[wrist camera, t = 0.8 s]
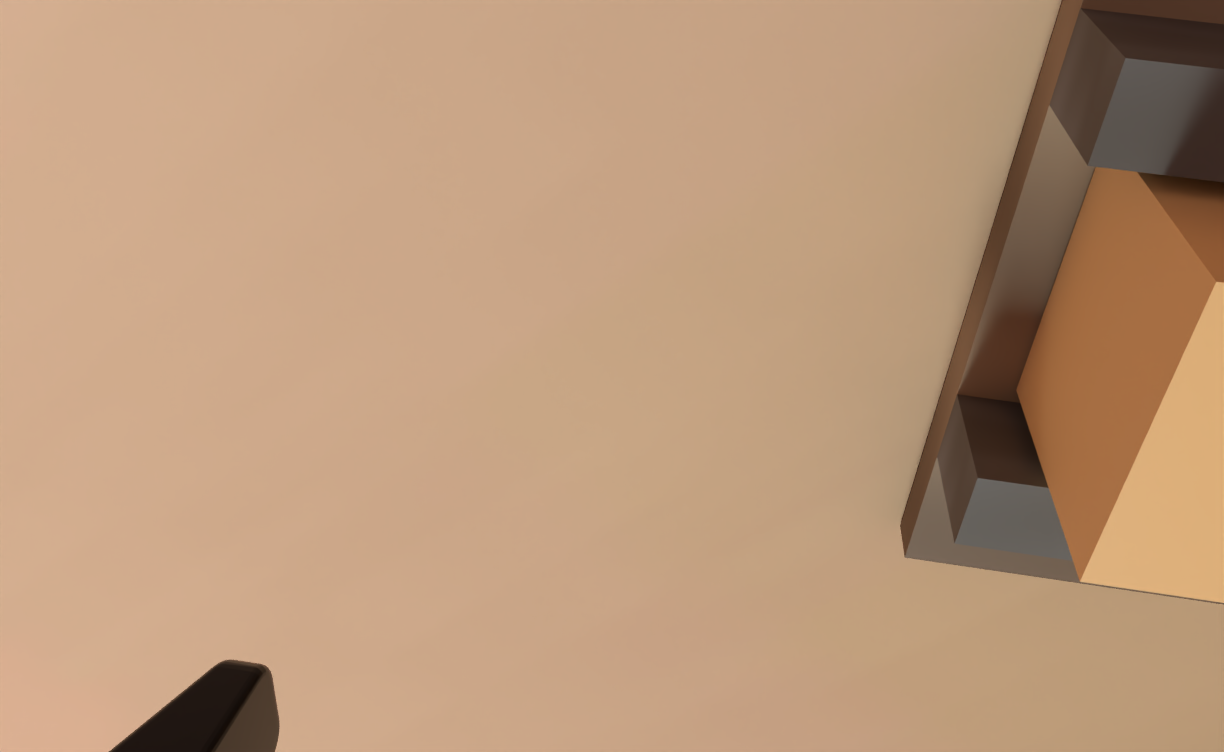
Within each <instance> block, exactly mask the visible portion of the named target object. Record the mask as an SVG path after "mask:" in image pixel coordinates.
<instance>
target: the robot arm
mask: <svg viewBox="0 0 1224 752" xmlns="http://www.w3.org/2000/svg"><path fill="white" fill-rule="evenodd" d="M278 736H279V716H278V710H277V703H276V697H275V691H274V685H273V678H272V674H271V671H270V670H269V669H268V667H267V666H265V665H263V664H257V663H251V662H244V661H238V660H225V661H222V662H220V663H218V664H217V665H215V666H214V667H213V668H211V669H210V670H209V671H208V672H206V673H205V674H204V675H203V676H202V677H200V678H199V679H198V680H197V681H195V682H194V683H193V684H192V685H190V686H189V687H188V688H187V689H186V690H184V691H183V692H182V693H181V694H179V695H178V696H177V697H176V698H174V699H173V700H172V701H171V702H170V703H168V704H167V705H166V706H165V707H163V708H162V709H161V710H160V711H158V712H157V713H156V714H155V715H154V716H152V717H151V718H150V719H149V720H147V721H146V722H145V723H144V724H142V725H141V726H140V727H139V728H138V729H136V730H135V731H134V732H133V733H131V734H130V735H129V736H128V737H127V738H125V739H124V740H123V741H122V742H120V743H119V744H118V745H117V746H115V747H114V748H113V749H112V750H111V751H109V752H275V749H276V746H277V741H278Z"/></svg>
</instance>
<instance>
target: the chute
mask: <svg viewBox="0 0 1224 752" xmlns="http://www.w3.org/2000/svg"><path fill="white" fill-rule="evenodd" d="M1096 167H1101V168H1109V169H1118V170H1126V171H1134V172H1142V173H1150V174H1159V175H1167V176H1175V177H1183V178H1191V179H1200V180H1208V181H1216V182H1224V0H1063V1H1062V4H1061V7H1060V11H1059V14H1058V17H1057V20H1056V24H1055V27H1054V30H1053V33H1052V36H1051V40H1050V43H1049V46H1048V49H1047V53H1046V56H1045V59H1044V62H1043V66H1042V69H1041V72H1040V75H1039V79H1038V82H1037V85H1036V88H1035V91H1034V95H1033V98H1032V101H1031V104H1030V108H1029V111H1028V114H1027V117H1026V121H1025V124H1024V127H1023V130H1022V134H1021V137H1020V140H1019V143H1018V146H1017V150H1016V153H1015V156H1014V159H1013V163H1012V166H1011V169H1010V172H1009V176H1008V179H1007V182H1006V185H1005V189H1004V192H1003V195H1002V198H1001V202H1000V205H999V208H998V211H997V214H996V218H995V221H994V224H993V227H992V231H991V234H990V237H989V240H988V244H987V247H986V250H985V253H984V257H983V260H982V263H981V266H980V269H979V273H978V276H977V279H976V282H975V286H974V289H973V292H972V295H971V299H970V302H969V305H968V308H967V312H966V315H965V318H964V321H963V324H962V328H961V331H960V334H959V337H958V341H957V344H956V347H955V350H954V354H953V357H952V360H951V363H950V367H949V370H948V373H947V376H946V380H945V383H944V386H943V389H942V392H941V396H940V399H939V402H938V405H937V409H936V412H935V415H934V418H933V422H932V425H931V428H930V431H929V435H928V438H927V441H926V444H925V447H924V451H923V454H922V457H921V460H920V464H919V467H918V470H917V473H916V477H915V480H914V483H913V486H912V490H911V493H910V496H909V499H908V502H907V506H906V509H905V512H904V515H903V519H902V522H901V525H900V527H901V534H902V541H903V548H904V555H905V558H912V559H919V560H926V561H933V562H939V563H946V564H953V565H960V566H967V567H973V568H980V569H987V570H994V571H1000V572H1007V573H1014V574H1021V575H1028V576H1034V577H1041V578H1048V579H1055V580H1062V581H1068V582H1075V583H1082V584H1089V585H1096V586H1102V587H1109V588H1116V589H1123V590H1129V591H1136V592H1143V593H1150V594H1157V595H1163V596H1170V597H1177V598H1184V599H1191V600H1197V601H1204V602H1211V603H1218V604H1224V603H1221V602H1214V601H1207V600H1201V599H1194V598H1187V597H1180V596H1173V595H1167V594H1160V593H1153V592H1146V591H1139V590H1133V589H1126V588H1119V587H1112V586H1106V585H1099V584H1092V583H1085V582H1080V581H1079V578H1078V575H1077V572H1076V569H1075V566H1074V563H1073V560H1072V557H1071V554H1070V551H1069V548H1068V544H1067V541H1066V538H1065V535H1064V532H1063V529H1062V526H1061V523H1060V520H1059V517H1058V514H1057V511H1056V508H1055V505H1054V502H1053V499H1052V496H1051V493H1050V490H1049V487H1048V484H1047V481H1046V478H1045V475H1044V472H1043V469H1042V466H1041V463H1040V460H1039V457H1038V454H1037V451H1036V448H1035V445H1034V442H1033V439H1032V436H1031V433H1030V430H1029V427H1028V424H1027V421H1026V418H1025V415H1024V412H1023V409H1022V406H1021V403H1020V400H1019V397H1018V394H1017V391H1016V389H1017V386H1018V383H1019V381H1020V378H1021V375H1022V372H1023V369H1024V367H1025V364H1026V361H1027V358H1028V355H1029V353H1030V350H1031V347H1032V344H1033V341H1034V339H1035V336H1036V333H1037V330H1038V327H1039V325H1040V322H1041V319H1042V316H1043V313H1044V311H1045V308H1046V305H1047V302H1048V299H1049V297H1050V294H1051V291H1052V288H1053V285H1054V283H1055V280H1056V277H1057V274H1058V271H1059V269H1060V266H1061V263H1062V260H1063V257H1064V255H1065V252H1066V249H1067V246H1068V243H1069V241H1070V238H1071V235H1072V232H1073V229H1074V227H1075V224H1076V221H1077V218H1078V215H1079V213H1080V210H1081V207H1082V204H1083V201H1084V199H1085V196H1086V193H1087V190H1088V187H1089V185H1090V182H1091V179H1092V176H1093V173H1094V171H1095V168H1096Z"/></svg>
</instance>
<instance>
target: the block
mask: <svg viewBox="0 0 1224 752" xmlns="http://www.w3.org/2000/svg"><path fill="white" fill-rule="evenodd" d="M1016 391H1017V394H1018V397H1019V400H1020V403H1021V406H1022V409H1023V412H1024V415H1025V418H1026V421H1027V424H1028V427H1029V430H1030V433H1031V436H1032V439H1033V442H1034V445H1035V448H1036V451H1037V454H1038V457H1039V460H1040V463H1041V466H1042V469H1043V472H1044V475H1045V478H1046V481H1047V484H1048V487H1049V490H1050V493H1051V496H1052V499H1053V502H1054V505H1055V508H1056V511H1057V514H1058V517H1059V520H1060V523H1061V526H1062V529H1063V532H1064V535H1065V538H1066V541H1067V544H1068V548H1069V551H1070V554H1071V557H1072V560H1073V563H1074V566H1075V569H1076V572H1077V575H1078V578H1079V581H1080V582H1085V583H1092V584H1099V585H1106V586H1112V587H1119V588H1126V589H1133V590H1139V591H1146V592H1153V593H1160V594H1167V595H1173V596H1180V597H1187V598H1194V599H1201V600H1207V601H1214V602H1221V603H1224V182H1216V181H1208V180H1200V179H1191V178H1183V177H1175V176H1167V175H1159V174H1150V173H1142V172H1134V171H1126V170H1118V169H1109V168H1101V167H1096V168H1095V171H1094V173H1093V176H1092V179H1091V182H1090V185H1089V187H1088V190H1087V193H1086V196H1085V199H1084V201H1083V204H1082V207H1081V210H1080V213H1079V215H1078V218H1077V221H1076V224H1075V227H1074V229H1073V232H1072V235H1071V238H1070V241H1069V243H1068V246H1067V249H1066V252H1065V255H1064V257H1063V260H1062V263H1061V266H1060V269H1059V271H1058V274H1057V277H1056V280H1055V283H1054V285H1053V288H1052V291H1051V294H1050V297H1049V299H1048V302H1047V305H1046V308H1045V311H1044V313H1043V316H1042V319H1041V322H1040V325H1039V327H1038V330H1037V333H1036V336H1035V339H1034V341H1033V344H1032V347H1031V350H1030V353H1029V355H1028V358H1027V361H1026V364H1025V367H1024V369H1023V372H1022V375H1021V378H1020V381H1019V383H1018V386H1017V389H1016Z"/></svg>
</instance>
